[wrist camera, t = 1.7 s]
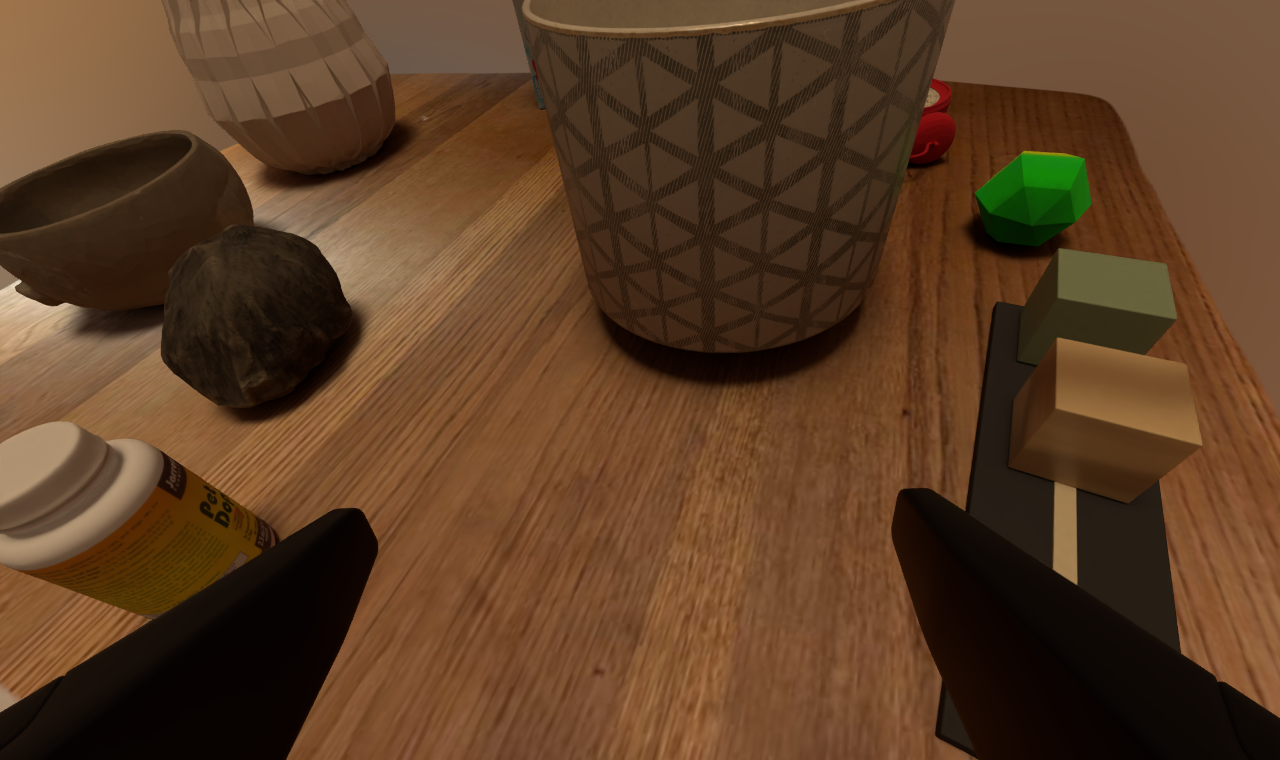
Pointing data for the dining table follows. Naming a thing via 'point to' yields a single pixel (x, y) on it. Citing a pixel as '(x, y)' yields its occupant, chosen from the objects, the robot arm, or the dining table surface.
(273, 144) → the vase
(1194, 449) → the maple block
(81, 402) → the dining table surface
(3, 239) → the bowl
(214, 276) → the rock
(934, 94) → the alarm clock
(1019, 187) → the apple
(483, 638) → the dining table surface
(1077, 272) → the sage block
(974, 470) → the line mat
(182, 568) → the supplement bottle
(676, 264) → the planter
